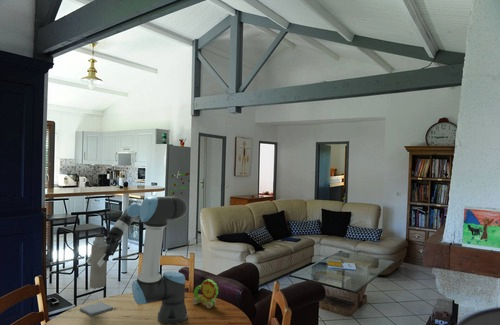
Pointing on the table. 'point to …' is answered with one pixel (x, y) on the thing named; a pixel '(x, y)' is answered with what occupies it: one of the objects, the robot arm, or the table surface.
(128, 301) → the table surface
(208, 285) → the toy lion
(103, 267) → the thermos bottle
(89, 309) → the gray square plate
